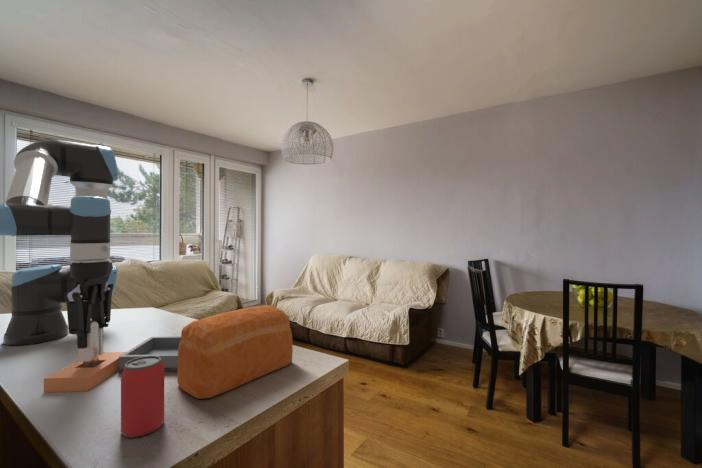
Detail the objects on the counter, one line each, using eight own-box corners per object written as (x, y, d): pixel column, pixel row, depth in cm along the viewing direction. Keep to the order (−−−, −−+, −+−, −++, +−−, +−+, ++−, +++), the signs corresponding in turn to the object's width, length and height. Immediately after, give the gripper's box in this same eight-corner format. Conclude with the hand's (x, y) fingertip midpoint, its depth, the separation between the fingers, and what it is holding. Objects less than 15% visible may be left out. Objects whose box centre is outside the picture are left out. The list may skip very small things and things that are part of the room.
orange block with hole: (93, 363, 85) (93, 352, 85) (129, 363, 86) (129, 351, 86) (43, 392, 70) (43, 378, 70) (87, 390, 71) (87, 377, 71)
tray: (151, 350, 95) (151, 336, 95) (203, 349, 96) (203, 336, 96) (118, 372, 80) (118, 356, 80) (181, 371, 81) (181, 355, 81)
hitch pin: (88, 373, 79) (88, 318, 79) (101, 373, 80) (101, 318, 79) (79, 379, 76) (79, 322, 76) (92, 378, 77) (92, 322, 76)
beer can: (134, 417, 61) (134, 354, 61) (171, 416, 61) (171, 353, 61) (111, 440, 54) (111, 369, 54) (152, 438, 55) (152, 368, 55)
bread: (297, 363, 87) (298, 305, 87) (202, 405, 66) (203, 328, 66) (265, 351, 95) (265, 298, 95) (172, 384, 74) (172, 316, 74)
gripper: (82, 264, 70) (82, 371, 70) (127, 257, 86) (127, 345, 86) (45, 264, 69) (45, 372, 70) (97, 257, 85) (97, 346, 86)
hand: (90, 357), depth 78 cm, fingers closed on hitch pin, 3 cm apart
